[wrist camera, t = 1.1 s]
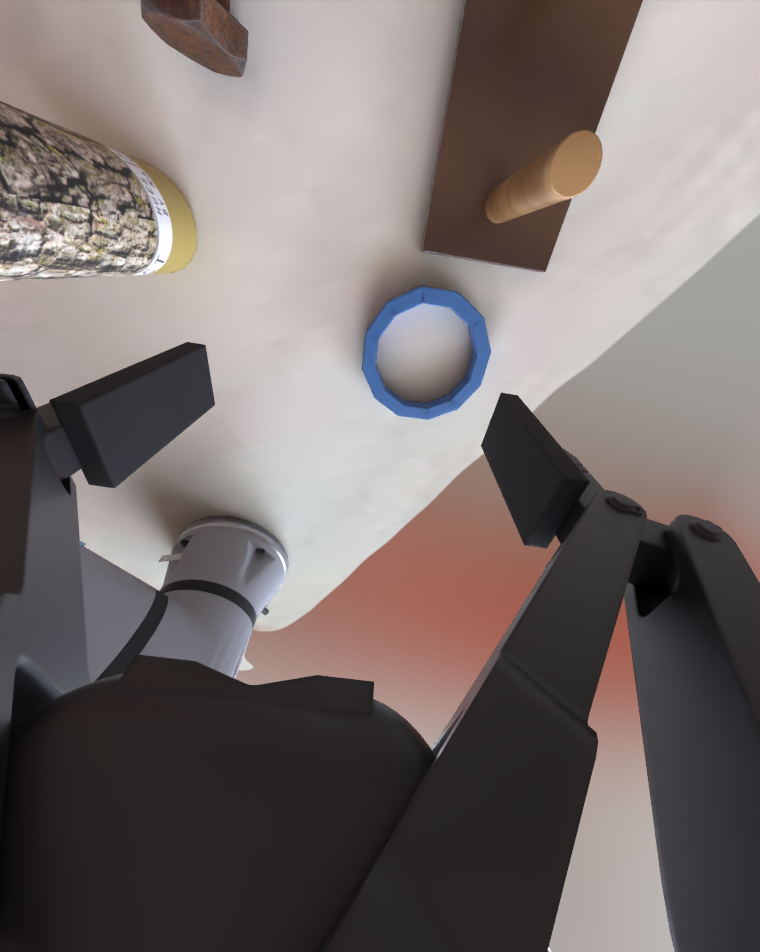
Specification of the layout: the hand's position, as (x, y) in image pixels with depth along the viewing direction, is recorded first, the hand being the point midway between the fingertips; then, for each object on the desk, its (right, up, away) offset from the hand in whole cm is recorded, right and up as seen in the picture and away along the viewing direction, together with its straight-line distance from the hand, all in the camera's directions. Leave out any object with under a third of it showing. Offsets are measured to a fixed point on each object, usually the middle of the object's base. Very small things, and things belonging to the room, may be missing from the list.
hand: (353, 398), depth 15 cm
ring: (+5, +8, +16) cm, 19 cm away
